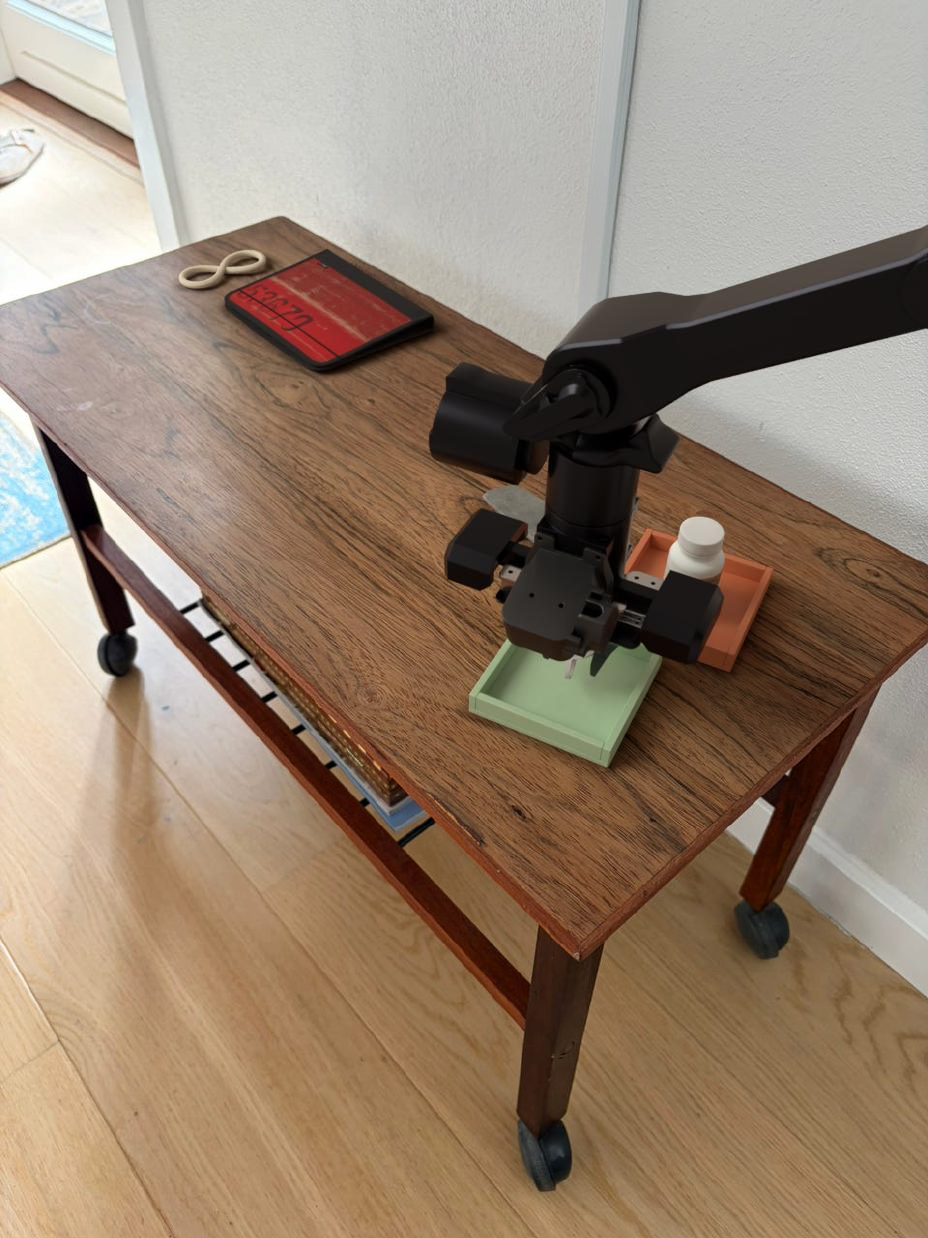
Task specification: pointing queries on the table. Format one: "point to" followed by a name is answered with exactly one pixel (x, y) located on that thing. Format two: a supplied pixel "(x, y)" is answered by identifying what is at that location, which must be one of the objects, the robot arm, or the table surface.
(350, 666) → the table surface
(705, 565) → the pill bottle
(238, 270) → the decorative object
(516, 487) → the stone
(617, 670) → the sage tray
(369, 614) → the table surface
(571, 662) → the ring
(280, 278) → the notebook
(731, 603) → the terracotta tray
